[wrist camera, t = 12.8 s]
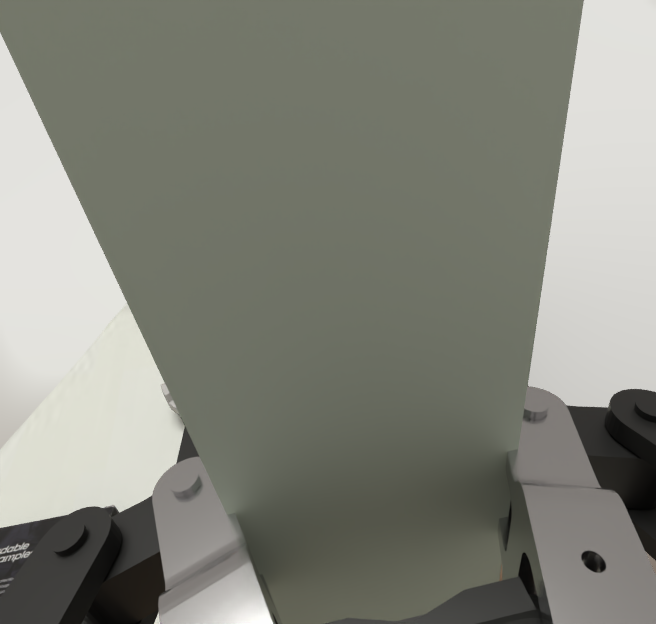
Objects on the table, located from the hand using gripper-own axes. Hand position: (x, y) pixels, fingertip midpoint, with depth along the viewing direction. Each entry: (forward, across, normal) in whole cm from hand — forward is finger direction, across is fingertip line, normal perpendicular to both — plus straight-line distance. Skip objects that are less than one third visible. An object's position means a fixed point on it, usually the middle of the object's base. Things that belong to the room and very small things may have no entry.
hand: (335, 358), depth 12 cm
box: (-3, 0, +10) cm, 10 cm away
